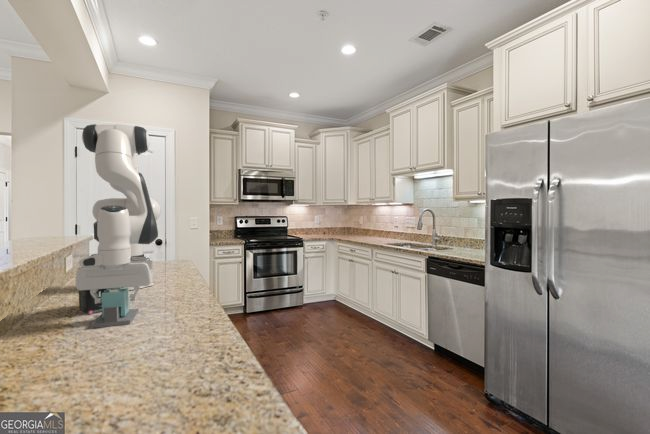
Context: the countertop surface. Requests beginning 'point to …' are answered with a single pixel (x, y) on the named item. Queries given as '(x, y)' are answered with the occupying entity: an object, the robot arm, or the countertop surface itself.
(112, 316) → the rail panel
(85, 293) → the tampon box
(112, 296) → the block
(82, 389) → the countertop surface
